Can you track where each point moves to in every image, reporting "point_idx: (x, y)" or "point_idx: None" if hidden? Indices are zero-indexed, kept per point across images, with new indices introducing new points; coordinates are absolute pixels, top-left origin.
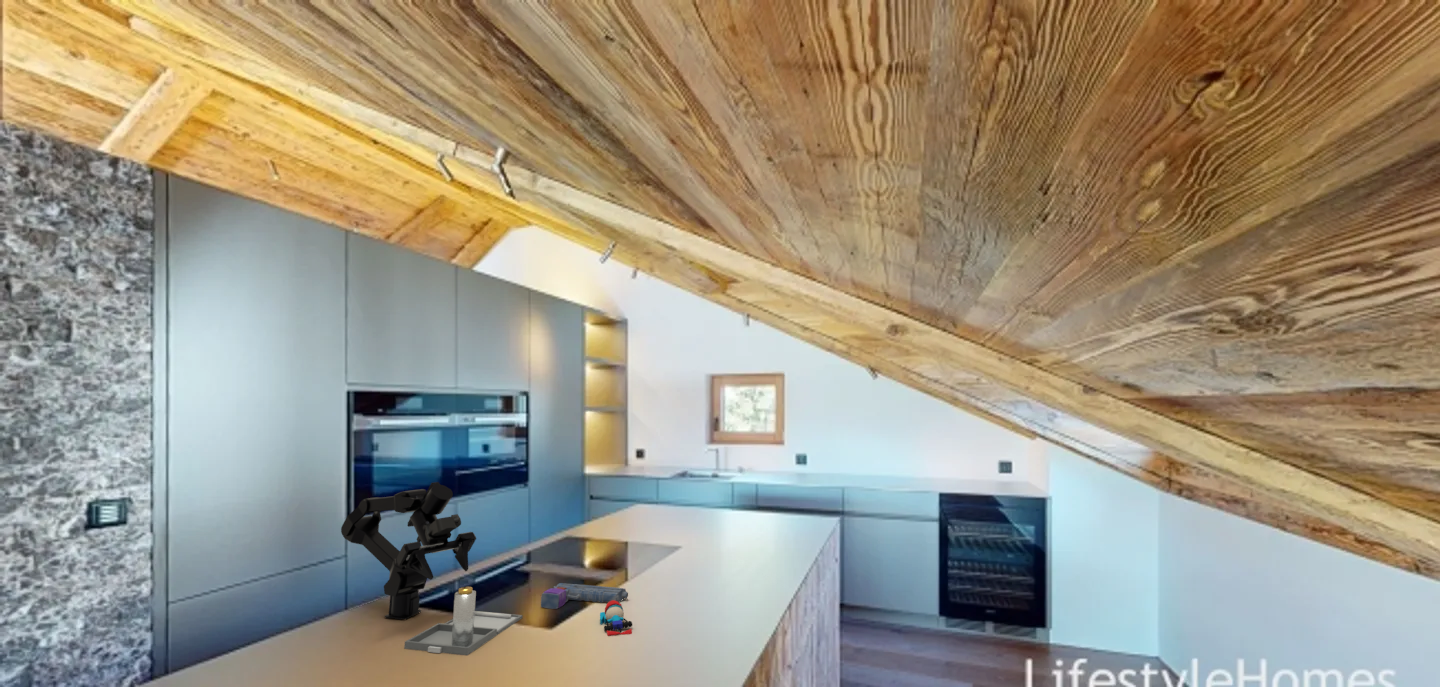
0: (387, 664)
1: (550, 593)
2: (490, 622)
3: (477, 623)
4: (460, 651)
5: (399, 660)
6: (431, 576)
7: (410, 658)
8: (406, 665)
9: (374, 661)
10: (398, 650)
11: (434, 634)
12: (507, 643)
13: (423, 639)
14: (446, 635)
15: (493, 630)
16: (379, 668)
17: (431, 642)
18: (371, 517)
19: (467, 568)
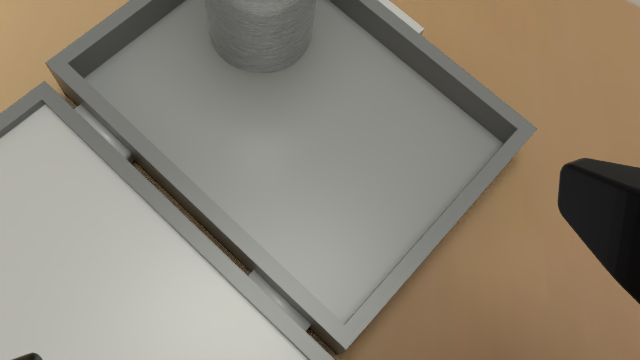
0: (571, 64)
1: None
2: (8, 296)
3: (91, 320)
4: None
5: (526, 80)
6: (589, 162)
7: (482, 78)
8: (496, 16)
9: (629, 123)
10: (539, 201)
11: (369, 268)
12: (36, 21)
13: (430, 220)
14: (307, 218)
15: (73, 48)
16: (597, 42)
17: (393, 153)
18: None
19: (23, 357)
